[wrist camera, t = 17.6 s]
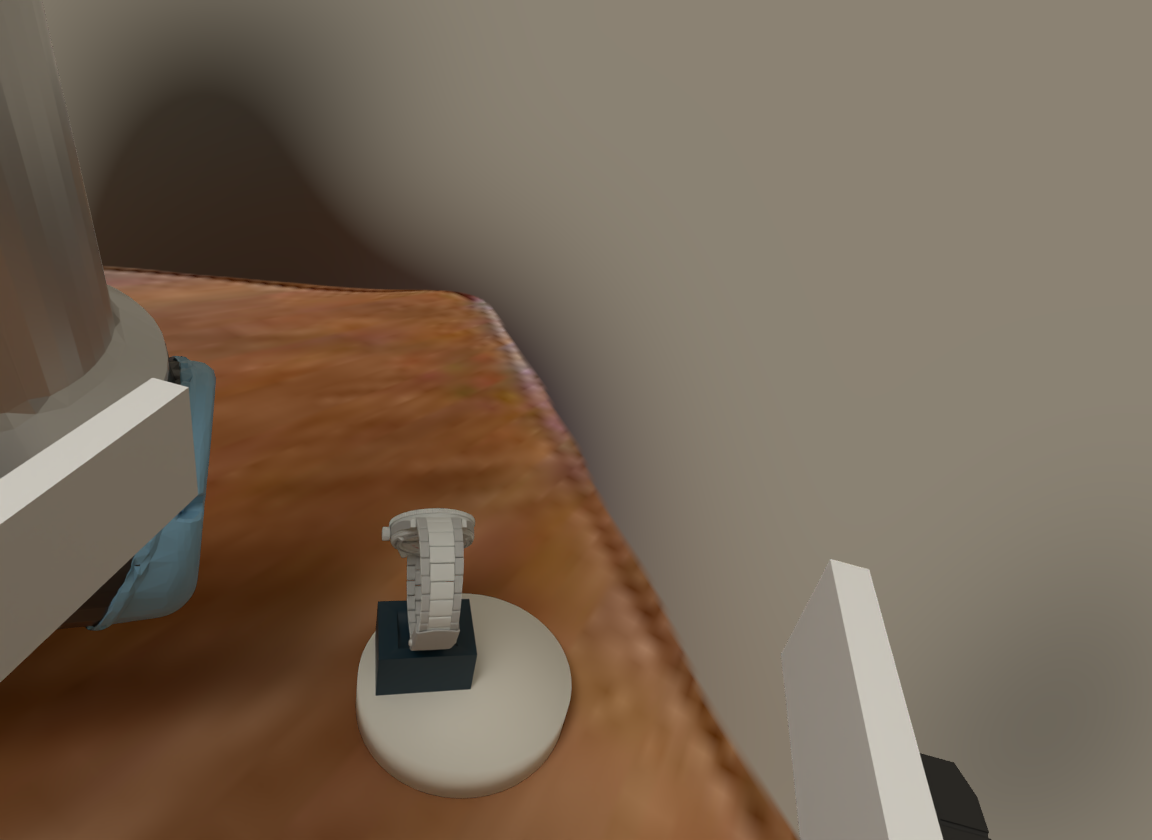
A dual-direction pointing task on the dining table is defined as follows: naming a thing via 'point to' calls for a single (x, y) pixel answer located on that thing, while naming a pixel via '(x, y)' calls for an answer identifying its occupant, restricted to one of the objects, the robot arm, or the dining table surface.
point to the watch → (427, 607)
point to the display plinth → (473, 710)
